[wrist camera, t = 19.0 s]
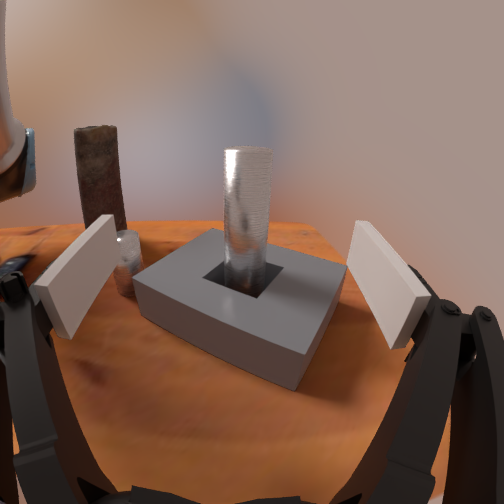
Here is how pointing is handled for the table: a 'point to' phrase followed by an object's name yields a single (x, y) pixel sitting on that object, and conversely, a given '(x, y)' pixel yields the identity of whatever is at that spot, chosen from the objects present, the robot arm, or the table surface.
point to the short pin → (128, 261)
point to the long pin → (246, 217)
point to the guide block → (244, 306)
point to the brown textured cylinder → (99, 174)
